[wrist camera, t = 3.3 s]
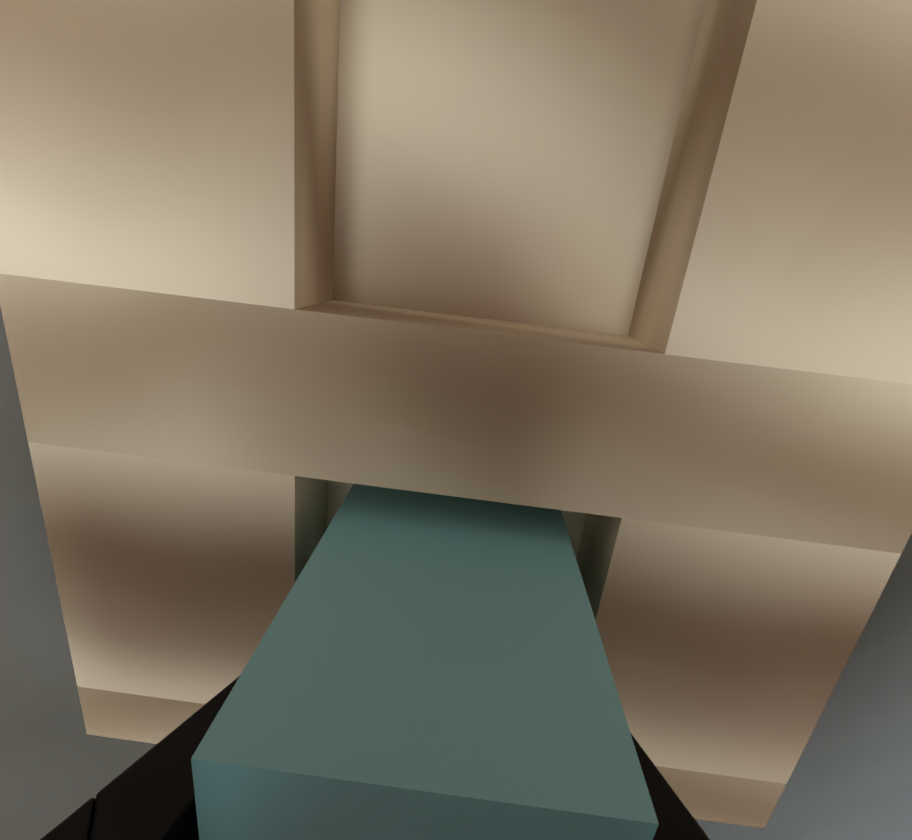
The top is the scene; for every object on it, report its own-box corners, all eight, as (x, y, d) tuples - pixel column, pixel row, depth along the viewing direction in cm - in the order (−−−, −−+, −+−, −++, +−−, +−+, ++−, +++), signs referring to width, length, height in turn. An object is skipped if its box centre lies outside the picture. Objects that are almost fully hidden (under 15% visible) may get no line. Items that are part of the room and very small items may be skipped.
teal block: (524, 651, 12) (568, 1058, 6) (352, 627, 12) (216, 1006, 6) (556, 496, 11) (658, 824, 4) (361, 471, 11) (190, 758, 4)
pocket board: (713, 726, 13) (764, 828, 11) (157, 651, 13) (86, 734, 11) (1048, -110, 7) (1320, -289, 5) (50, -210, 8) (-147, -426, 5)
